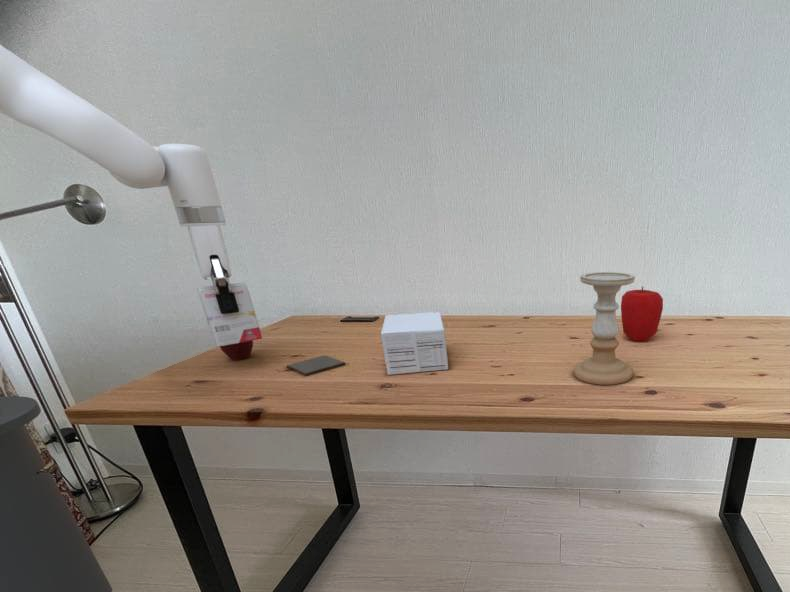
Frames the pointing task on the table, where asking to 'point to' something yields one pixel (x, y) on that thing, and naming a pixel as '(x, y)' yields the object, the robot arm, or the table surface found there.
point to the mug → (238, 350)
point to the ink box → (230, 316)
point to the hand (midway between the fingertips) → (229, 309)
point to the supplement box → (414, 343)
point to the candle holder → (605, 332)
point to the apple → (641, 314)
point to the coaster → (315, 365)
